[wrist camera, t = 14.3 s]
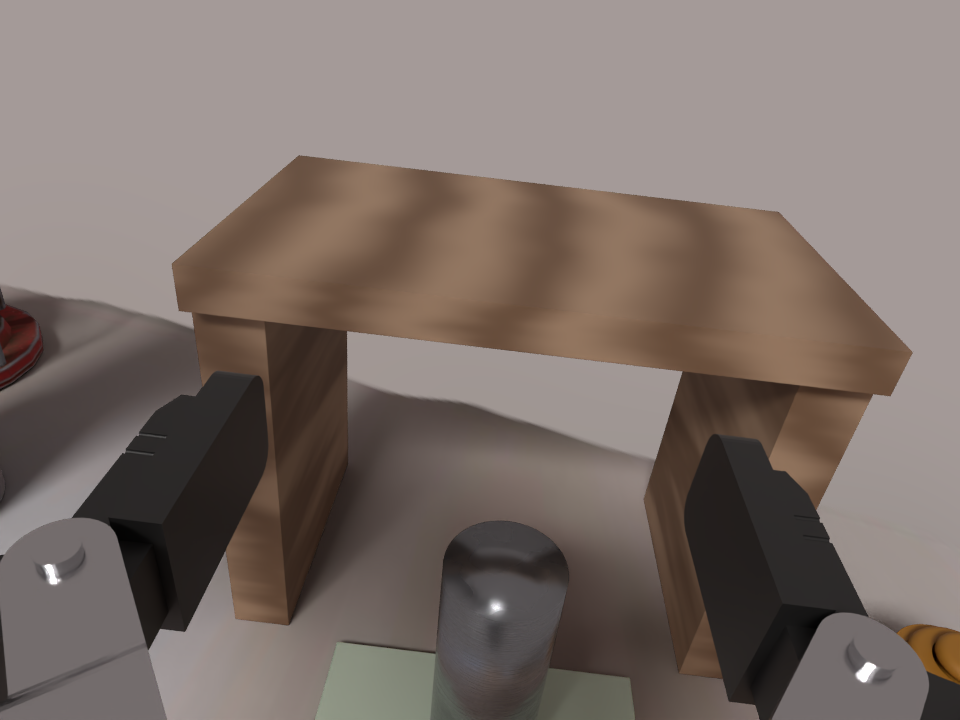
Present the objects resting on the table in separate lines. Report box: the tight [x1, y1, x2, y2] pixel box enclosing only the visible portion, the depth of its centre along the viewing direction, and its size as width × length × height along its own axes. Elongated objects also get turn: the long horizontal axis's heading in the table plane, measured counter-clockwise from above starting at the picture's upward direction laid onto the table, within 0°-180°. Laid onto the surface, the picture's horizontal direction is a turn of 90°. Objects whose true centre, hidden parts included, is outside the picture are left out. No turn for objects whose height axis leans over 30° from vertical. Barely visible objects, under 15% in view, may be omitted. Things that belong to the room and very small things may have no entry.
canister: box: [430, 521, 569, 720], centre depth 30 cm, size 5×5×12 cm
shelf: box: [172, 156, 912, 679], centre depth 38 cm, size 28×16×22 cm, turn 86°
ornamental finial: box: [897, 624, 960, 684], centre depth 33 cm, size 8×8×8 cm
